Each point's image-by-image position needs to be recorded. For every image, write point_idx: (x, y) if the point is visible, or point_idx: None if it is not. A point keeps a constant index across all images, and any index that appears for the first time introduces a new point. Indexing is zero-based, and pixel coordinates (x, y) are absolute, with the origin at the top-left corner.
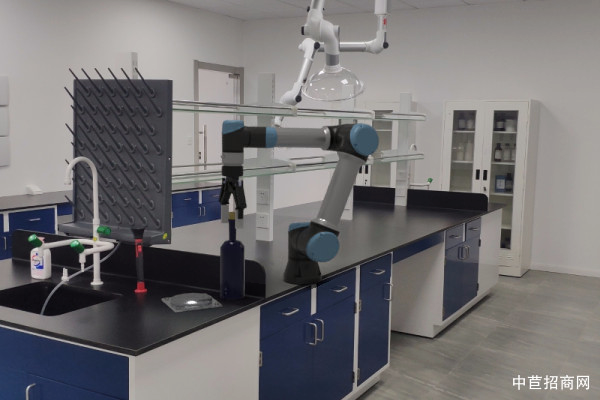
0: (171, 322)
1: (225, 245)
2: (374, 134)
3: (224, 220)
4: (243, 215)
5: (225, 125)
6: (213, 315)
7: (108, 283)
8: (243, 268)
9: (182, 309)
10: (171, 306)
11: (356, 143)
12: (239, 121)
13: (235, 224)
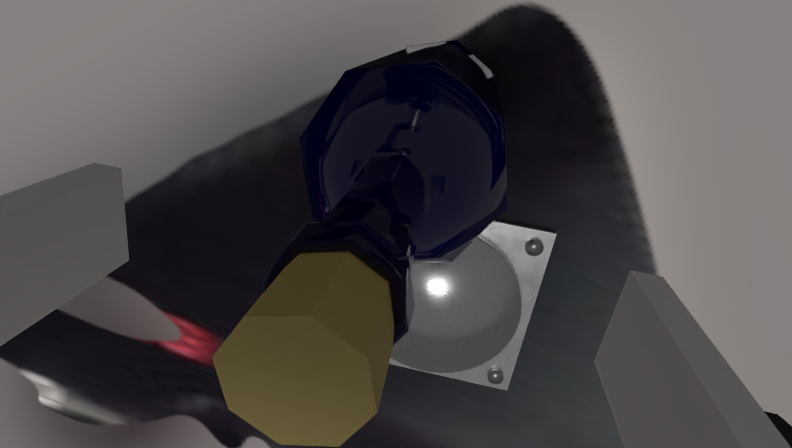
0: (599, 442)
1: (420, 260)
2: None
3: (100, 241)
4: (767, 421)
5: None
6: None
7: (52, 368)
8: (496, 93)
9: (511, 368)
10: (452, 376)
11: None
12: None
13: (617, 403)
